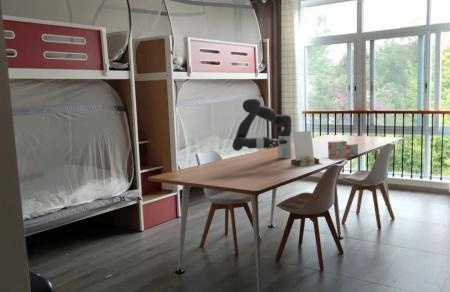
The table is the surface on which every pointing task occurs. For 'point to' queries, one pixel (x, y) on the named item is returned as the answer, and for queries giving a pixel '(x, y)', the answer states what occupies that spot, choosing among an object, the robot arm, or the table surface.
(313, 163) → the offcut stack
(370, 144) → the table surface
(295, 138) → the tall board
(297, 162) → the walnut rack
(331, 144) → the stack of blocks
